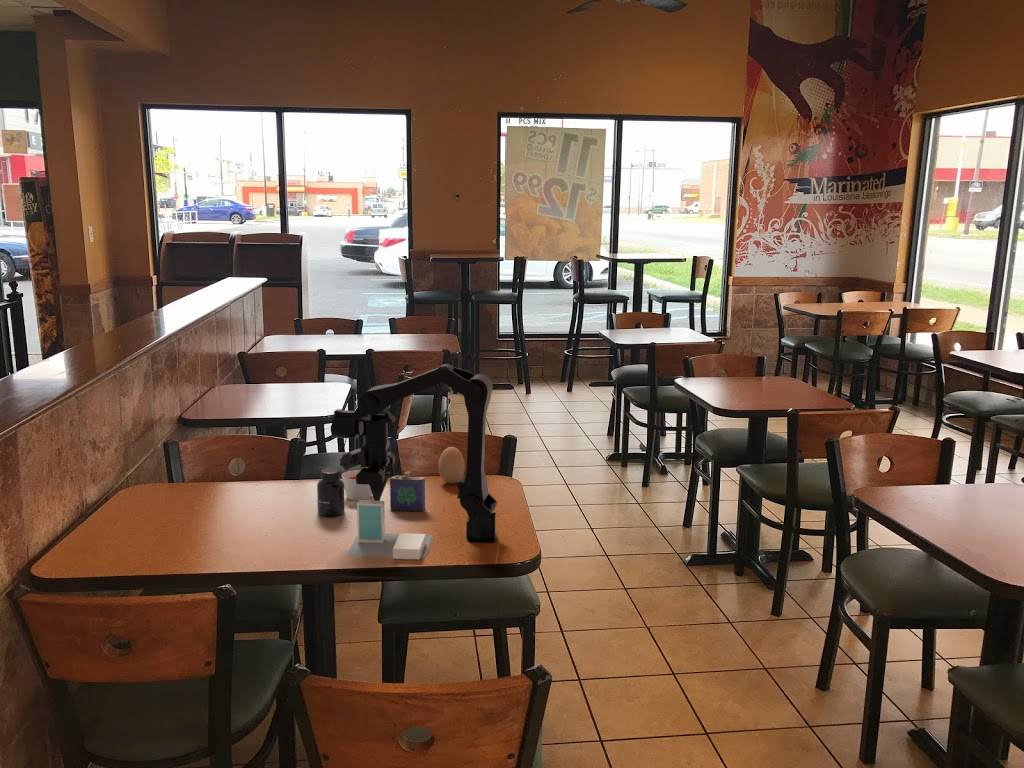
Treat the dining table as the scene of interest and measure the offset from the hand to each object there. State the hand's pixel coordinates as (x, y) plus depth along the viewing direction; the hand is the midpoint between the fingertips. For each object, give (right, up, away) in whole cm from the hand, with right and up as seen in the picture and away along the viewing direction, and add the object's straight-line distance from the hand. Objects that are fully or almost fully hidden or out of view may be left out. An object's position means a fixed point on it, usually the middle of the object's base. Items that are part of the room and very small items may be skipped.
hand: (376, 501), depth 210 cm
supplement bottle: (-14, -5, +13) cm, 20 cm away
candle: (-9, -3, +27) cm, 29 cm away
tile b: (0, -8, -5) cm, 10 cm away
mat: (+4, -10, -8) cm, 13 cm away
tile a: (+10, -8, -7) cm, 14 cm away
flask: (+5, -5, +17) cm, 19 cm away
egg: (+15, 0, +40) cm, 43 cm away
